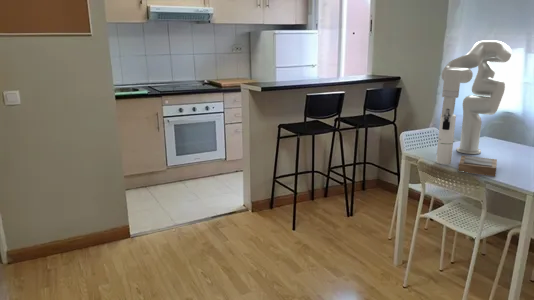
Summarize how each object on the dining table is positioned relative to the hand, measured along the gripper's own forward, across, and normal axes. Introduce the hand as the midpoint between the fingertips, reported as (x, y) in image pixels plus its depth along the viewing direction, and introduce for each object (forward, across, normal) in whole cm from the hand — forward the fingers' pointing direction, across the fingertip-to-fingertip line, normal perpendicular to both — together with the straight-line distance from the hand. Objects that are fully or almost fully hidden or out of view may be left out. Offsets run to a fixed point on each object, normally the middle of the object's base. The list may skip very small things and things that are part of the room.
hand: (446, 127), depth 211 cm
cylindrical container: (+19, 0, 0) cm, 19 cm away
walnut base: (+18, +5, +16) cm, 25 cm away
